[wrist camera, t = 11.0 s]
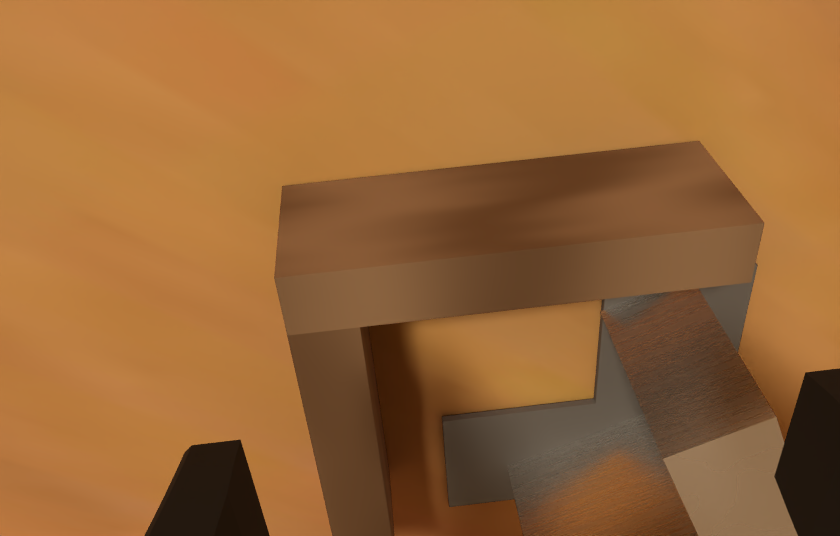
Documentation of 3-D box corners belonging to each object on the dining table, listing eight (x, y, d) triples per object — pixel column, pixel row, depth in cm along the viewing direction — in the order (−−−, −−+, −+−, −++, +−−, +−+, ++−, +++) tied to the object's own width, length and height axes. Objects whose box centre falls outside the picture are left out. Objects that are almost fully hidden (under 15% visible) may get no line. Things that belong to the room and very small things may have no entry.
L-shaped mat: (754, 260, 21) (757, 264, 21) (707, 470, 26) (709, 475, 26) (432, 296, 21) (433, 301, 21) (448, 502, 26) (449, 506, 26)
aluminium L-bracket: (744, 431, 25) (824, 577, 21) (535, 508, 26) (573, 659, 22) (689, 274, 21) (776, 416, 17) (446, 374, 22) (473, 528, 18)
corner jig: (699, 140, 19) (764, 222, 16) (652, 441, 25) (693, 538, 22) (282, 186, 18) (274, 278, 16) (341, 479, 25) (343, 582, 22)
